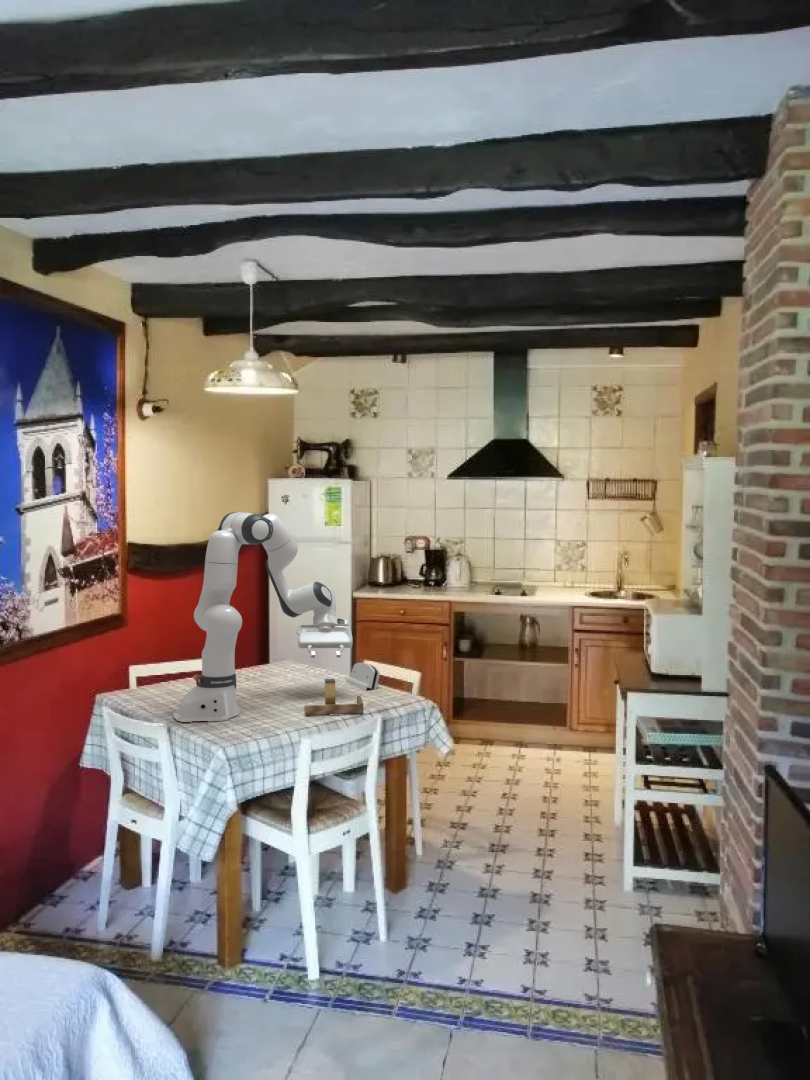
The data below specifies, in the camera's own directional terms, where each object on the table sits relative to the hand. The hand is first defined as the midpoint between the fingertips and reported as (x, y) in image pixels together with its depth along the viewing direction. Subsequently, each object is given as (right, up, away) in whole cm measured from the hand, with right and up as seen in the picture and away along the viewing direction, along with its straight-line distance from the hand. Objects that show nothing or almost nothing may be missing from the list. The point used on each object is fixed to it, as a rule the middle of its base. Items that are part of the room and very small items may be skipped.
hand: (325, 656), depth 319 cm
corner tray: (+4, -17, -12) cm, 22 cm away
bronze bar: (+3, -17, -11) cm, 20 cm away
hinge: (+13, -15, +25) cm, 32 cm away
